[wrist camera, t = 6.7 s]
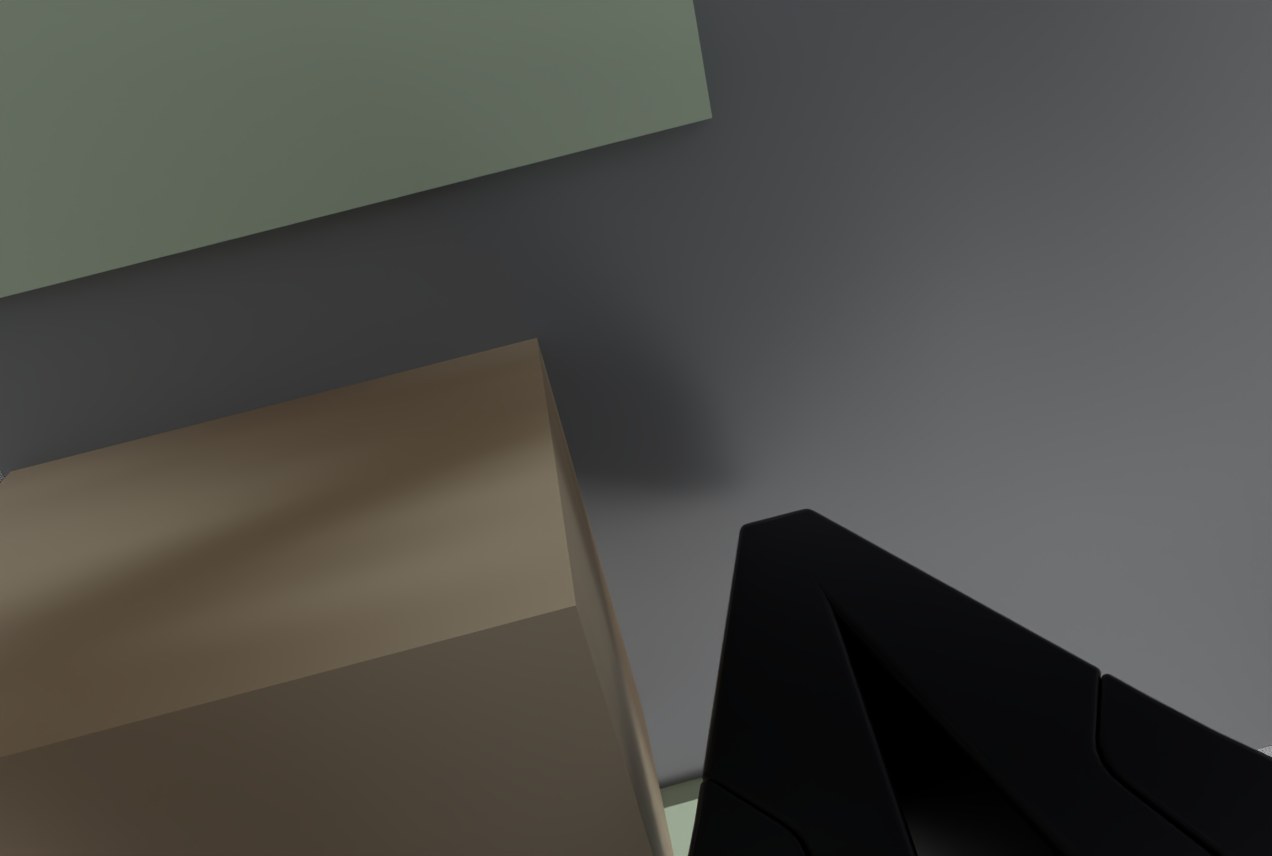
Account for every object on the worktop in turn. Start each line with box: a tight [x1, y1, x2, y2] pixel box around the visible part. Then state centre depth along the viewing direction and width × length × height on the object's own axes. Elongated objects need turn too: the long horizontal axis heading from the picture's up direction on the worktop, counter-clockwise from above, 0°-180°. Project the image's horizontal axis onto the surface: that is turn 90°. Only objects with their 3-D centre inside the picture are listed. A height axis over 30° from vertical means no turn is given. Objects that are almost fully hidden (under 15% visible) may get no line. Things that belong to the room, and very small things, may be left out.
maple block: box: [0, 338, 674, 856], centre depth 8 cm, size 5×5×4 cm
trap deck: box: [0, 0, 1272, 856], centre depth 11 cm, size 28×13×2 cm, turn 102°
